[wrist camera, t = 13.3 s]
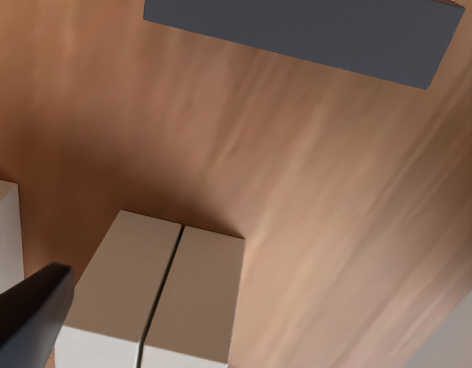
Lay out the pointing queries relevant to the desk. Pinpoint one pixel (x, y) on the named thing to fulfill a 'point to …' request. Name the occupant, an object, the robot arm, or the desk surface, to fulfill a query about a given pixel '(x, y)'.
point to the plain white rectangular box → (10, 237)
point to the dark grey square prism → (328, 31)
